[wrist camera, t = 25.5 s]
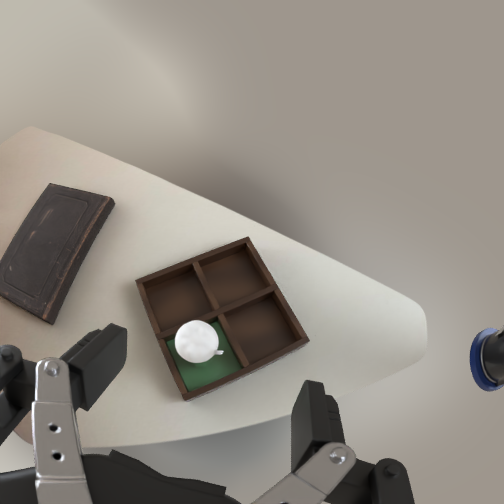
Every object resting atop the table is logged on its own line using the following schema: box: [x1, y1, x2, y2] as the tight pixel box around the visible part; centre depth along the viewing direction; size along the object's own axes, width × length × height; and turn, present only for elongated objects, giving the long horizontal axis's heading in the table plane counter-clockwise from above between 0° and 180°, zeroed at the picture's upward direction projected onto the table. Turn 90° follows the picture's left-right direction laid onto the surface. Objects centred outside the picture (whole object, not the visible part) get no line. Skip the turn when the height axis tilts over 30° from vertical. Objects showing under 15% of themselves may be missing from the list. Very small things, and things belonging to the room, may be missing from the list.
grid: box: [135, 237, 310, 402], centre depth 39 cm, size 17×17×3 cm
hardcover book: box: [0, 183, 115, 325], centre depth 42 cm, size 16×23×2 cm
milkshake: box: [175, 320, 223, 368], centre depth 33 cm, size 5×5×10 cm
